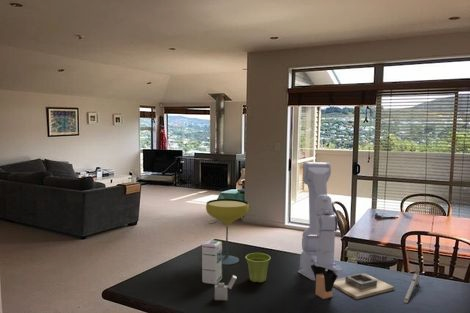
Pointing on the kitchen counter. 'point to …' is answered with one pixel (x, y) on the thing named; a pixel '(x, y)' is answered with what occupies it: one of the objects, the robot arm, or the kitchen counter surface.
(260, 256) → the plant pot
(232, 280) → the lighter
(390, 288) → the dock
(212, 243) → the syrup box
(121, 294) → the kitchen counter surface
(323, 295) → the orange wooden block
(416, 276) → the caliper
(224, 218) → the cocktail glass
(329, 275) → the robot arm
